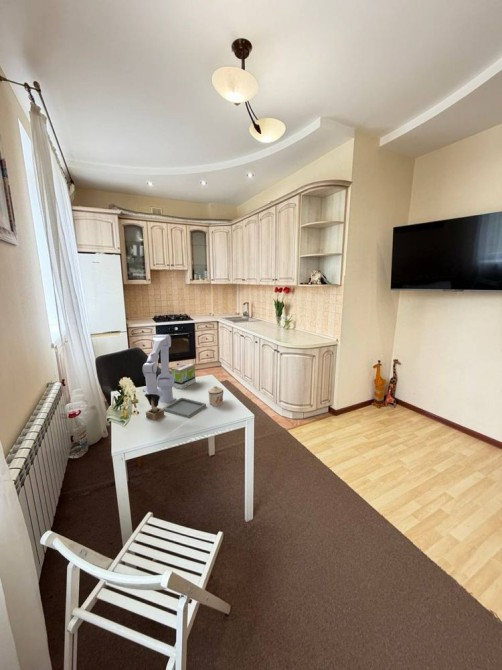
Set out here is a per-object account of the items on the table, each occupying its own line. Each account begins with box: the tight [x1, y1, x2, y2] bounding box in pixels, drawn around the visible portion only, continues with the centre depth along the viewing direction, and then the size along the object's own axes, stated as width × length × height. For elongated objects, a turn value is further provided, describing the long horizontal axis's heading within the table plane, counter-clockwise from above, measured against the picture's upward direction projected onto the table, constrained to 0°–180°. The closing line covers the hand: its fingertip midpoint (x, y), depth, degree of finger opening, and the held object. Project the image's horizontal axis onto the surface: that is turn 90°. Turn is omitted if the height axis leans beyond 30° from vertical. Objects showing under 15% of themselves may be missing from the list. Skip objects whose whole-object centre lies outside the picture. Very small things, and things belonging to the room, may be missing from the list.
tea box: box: [170, 362, 197, 390], centre depth 200 cm, size 15×10×15 cm
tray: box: [162, 397, 207, 419], centre depth 164 cm, size 20×16×2 cm
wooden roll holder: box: [145, 407, 165, 421], centre depth 155 cm, size 7×7×4 cm
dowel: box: [150, 399, 158, 414], centre depth 154 cm, size 3×3×8 cm
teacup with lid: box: [207, 385, 225, 407], centre depth 170 cm, size 12×9×12 cm
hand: (154, 405), depth 154 cm, fingers closed on dowel, 3 cm apart
